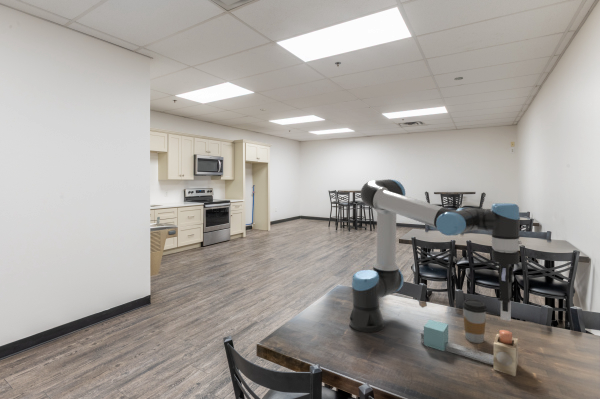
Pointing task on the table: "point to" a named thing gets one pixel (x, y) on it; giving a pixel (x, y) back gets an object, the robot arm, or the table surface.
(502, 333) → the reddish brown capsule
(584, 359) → the table surface
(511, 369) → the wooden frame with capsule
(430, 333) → the block
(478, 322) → the coffee cup
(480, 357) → the rail
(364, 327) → the robot arm
